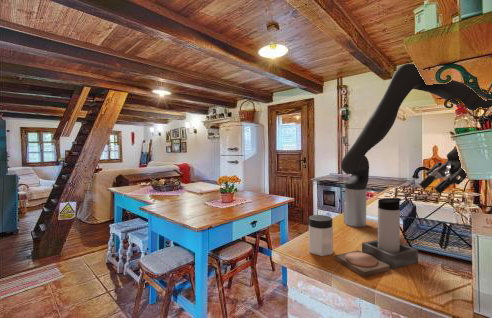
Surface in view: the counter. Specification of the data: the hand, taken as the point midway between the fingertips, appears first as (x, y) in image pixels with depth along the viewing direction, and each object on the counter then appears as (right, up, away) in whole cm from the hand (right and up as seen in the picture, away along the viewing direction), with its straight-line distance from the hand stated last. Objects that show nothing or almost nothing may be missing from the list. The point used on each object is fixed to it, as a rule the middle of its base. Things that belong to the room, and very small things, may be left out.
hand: (428, 188), depth 79 cm
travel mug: (-11, -23, +3) cm, 26 cm away
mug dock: (-17, -23, +1) cm, 29 cm away
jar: (-32, -24, +10) cm, 41 cm away
